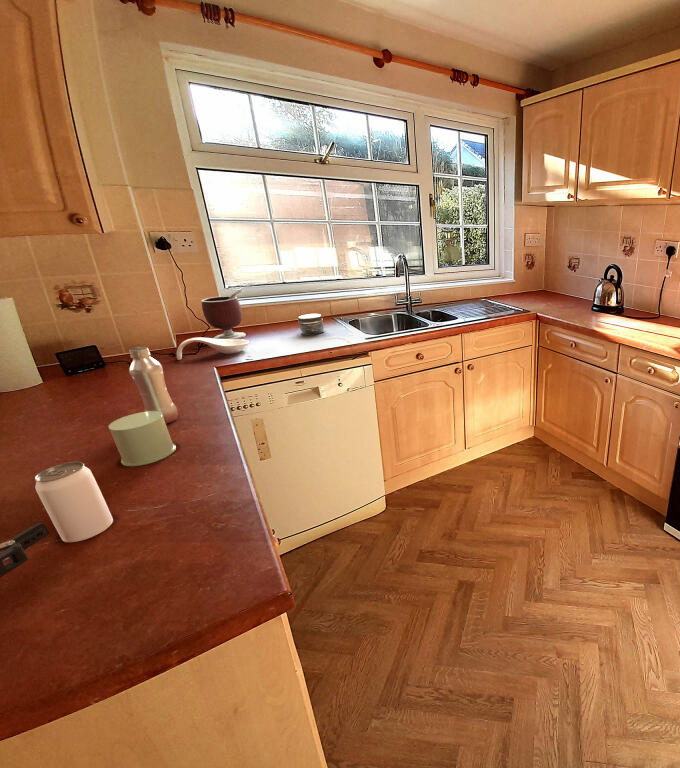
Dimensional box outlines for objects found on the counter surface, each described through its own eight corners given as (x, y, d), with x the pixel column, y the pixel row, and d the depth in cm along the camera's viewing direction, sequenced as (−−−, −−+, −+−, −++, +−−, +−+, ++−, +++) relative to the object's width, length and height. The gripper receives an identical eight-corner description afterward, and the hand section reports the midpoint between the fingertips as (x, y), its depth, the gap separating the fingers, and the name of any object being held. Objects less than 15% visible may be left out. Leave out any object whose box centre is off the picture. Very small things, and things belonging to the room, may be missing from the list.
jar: (328, 332, 193) (325, 315, 190) (306, 336, 186) (303, 319, 184) (319, 328, 200) (316, 312, 197) (297, 332, 193) (294, 316, 190)
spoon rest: (249, 345, 175) (245, 328, 172) (251, 352, 166) (247, 334, 163) (179, 356, 163) (173, 338, 160) (177, 364, 154) (170, 345, 151)
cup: (139, 471, 88) (123, 433, 85) (112, 463, 92) (96, 426, 88) (186, 449, 97) (174, 414, 93) (159, 442, 100) (147, 407, 97)
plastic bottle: (147, 430, 106) (118, 354, 98) (151, 420, 111) (123, 347, 103) (179, 424, 109) (153, 350, 101) (181, 414, 114) (156, 343, 107)
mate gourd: (208, 343, 179) (194, 295, 171) (215, 335, 191) (202, 290, 183) (249, 338, 184) (237, 292, 177) (253, 331, 196) (243, 288, 189)
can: (93, 543, 69) (63, 481, 65) (51, 545, 69) (17, 484, 64) (123, 516, 75) (98, 458, 71) (85, 519, 75) (56, 461, 70)
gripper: (-114, 604, 45) (51, 507, 60) (-226, 596, 47) (-37, 503, 62) (-76, 652, 48) (72, 548, 63) (-182, 643, 49) (-12, 543, 64)
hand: (18, 526), depth 62 cm, fingers open, 8 cm apart
